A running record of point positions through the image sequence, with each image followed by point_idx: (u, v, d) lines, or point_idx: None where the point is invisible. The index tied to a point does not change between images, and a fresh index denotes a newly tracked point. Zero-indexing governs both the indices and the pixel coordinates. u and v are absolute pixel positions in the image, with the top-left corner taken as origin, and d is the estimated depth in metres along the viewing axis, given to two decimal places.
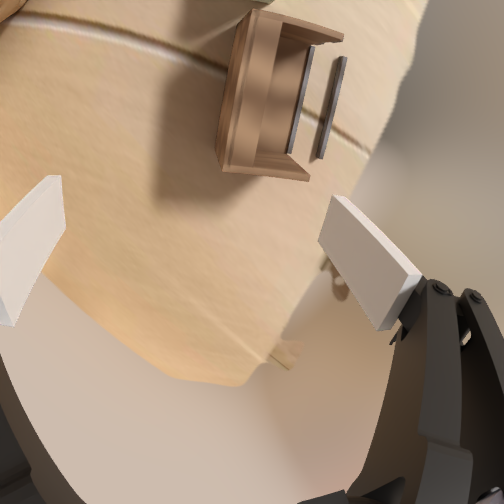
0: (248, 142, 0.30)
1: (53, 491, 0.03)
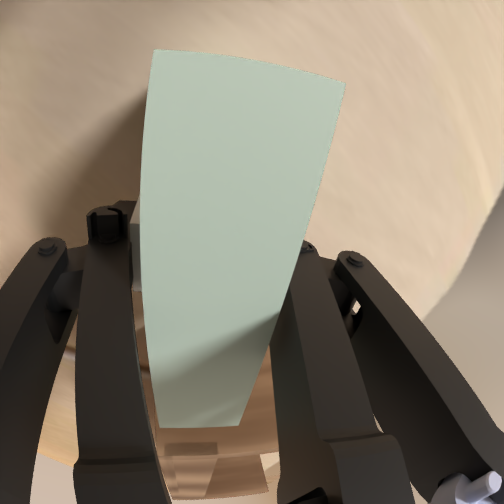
0: (194, 495, 0.20)
1: (162, 479, 0.03)
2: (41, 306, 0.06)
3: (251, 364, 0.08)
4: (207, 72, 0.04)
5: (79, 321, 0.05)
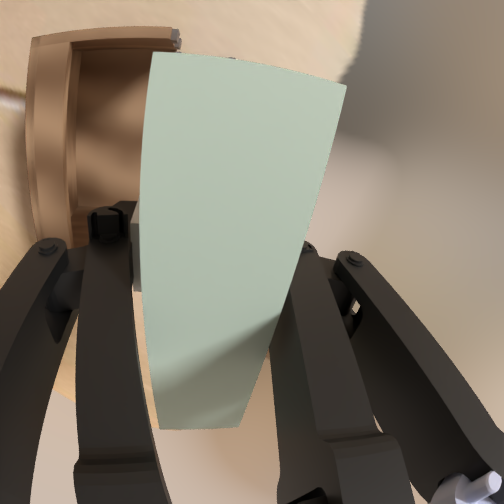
0: (57, 225, 0.19)
1: (162, 479, 0.03)
2: (41, 306, 0.06)
3: (251, 366, 0.08)
4: (206, 74, 0.04)
5: (79, 321, 0.05)
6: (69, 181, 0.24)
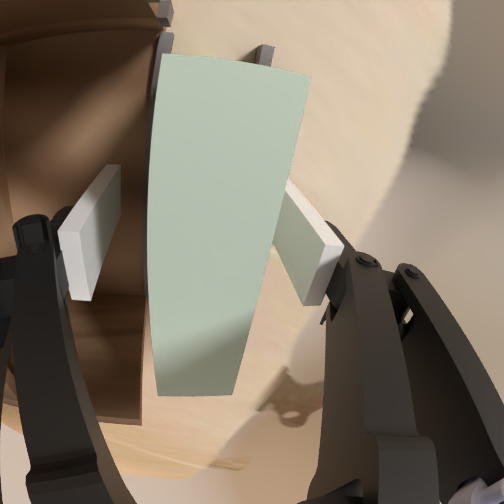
0: None
1: (111, 480, 0.03)
2: None
3: (241, 324, 0.09)
4: (202, 70, 0.05)
5: (14, 333, 0.04)
6: None
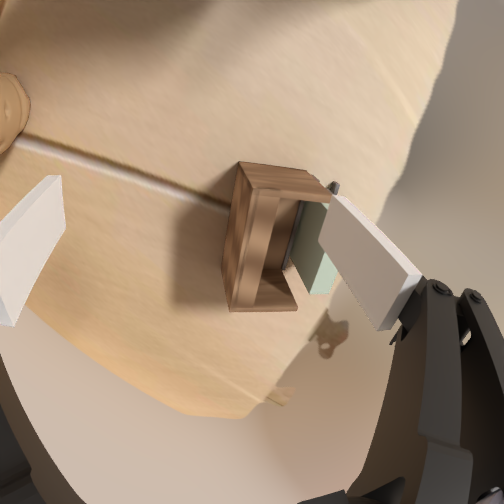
0: (249, 293, 0.39)
1: (53, 491, 0.03)
2: None
3: None
4: None
5: None
6: None
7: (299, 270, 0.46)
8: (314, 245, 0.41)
